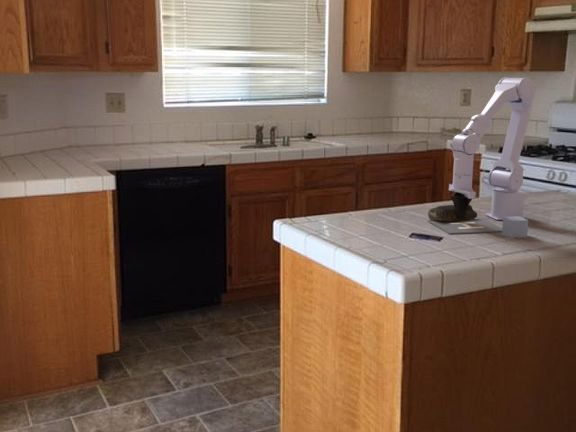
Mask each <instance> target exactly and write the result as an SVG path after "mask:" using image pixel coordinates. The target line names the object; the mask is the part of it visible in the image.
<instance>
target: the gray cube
mask: <svg viewBox="0 0 576 432" xmlns="http://www.w3.org/2000/svg"><path fill="white" fill-rule="evenodd" d="M501 228H502V232H501V234H502V235H504V236H506V237H507V238H510V239H511V238H512V239H513V238H514V237H517V238H527V237H528V229H529V219H526V218H525V217H524V218H522V217H520V216H516V217H503V220H502V226H501ZM514 239H515V238H514Z"/></svg>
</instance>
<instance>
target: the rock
mask: <svg viewBox="0 0 576 432" xmlns="http://www.w3.org/2000/svg"><path fill="white" fill-rule="evenodd" d="M427 214H428V219H429V220H430V221H432V220H437V221H443V222H447V221H459V220H469V219H477V217H478V212H476V211H475V210H474V209H473V206H472V205H471V204H469V205H468V207H467V210H466V213H465V216H464V218H457V217H456V213H455V207H454V204H446V205H438V206H436V207H432V208H430V209H429V210H428V213H427Z"/></svg>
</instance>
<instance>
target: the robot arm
mask: <svg viewBox="0 0 576 432" xmlns="http://www.w3.org/2000/svg"><path fill="white" fill-rule="evenodd" d="M535 92H536V86H535V83H534V82H533V80H532V79H531V78H530V77H508V76H506V77H502V78H500V80H499V81H498V83H497V84H496V85H495V87H494V93H493V95H492V96H491V98H490V99H489V100H488V102H487V103H486V105H485V107H484V108H483V110H482V111H481V113H479V114H475V115H473V116H472V117H471V118H470V121H469V122H468V123H467V125H466V126H465V127H464V128H463V129H462V130H461V133H458V134H456V135H455V136H454V137H453V138H452V140H451V143H450V149H451V151H452V157H453V170H452V171H453V172H452V183H449V184H448V191H450V192H454V193H451V194H450V198H451V200H452V203H453V205H454V207H455V213H456V217H457V218H464V216H465V213H466V210H467V207H468V205H470V204H471V202H472V200H473V199H476V196H477V195H476V194H477V193H476V192H475V191H474V189H473V187H472V186H473V173H474V172H473V170H474V159H475V158H474V156H475V153H477V152H478V150H479V148H480V143H481V140H482V138H483V136H484V135H485V134H486V133H487V132H488V131H489V129H490V128H491V126H492V125H491V120H492V119H493V118H494V117H495V115H496V114H497V113H498V112H499V111H500V110H501V109H502V108H503V107H504V106H505V104H508V106H509V107H510V108H511V110H512V112H511V115H510V119H509V122H508V128H507V131H506V135H505V140H504V143H503V147H502V151H501V156H500V158H499V159H498V160H497V161H495V162H494V163H493V164H492V168H491V170H490V171H489V173H488V174H487V175H488V177H487V182H488V184H489V185H490V186H491V188H490V189H491V190H492V195H491V197H492V198H491V210H490V213H489V212H488V213H485V215H486V216H487V217H489V218H491V219H494V220H495V221H503V217H516V216H520V217H522V218H524V219H525V216H524V209H525V195H524V192H523V191H522V190H520V189H521V187H522V186H523V184H524V171H525V170H524V169H525V168H524V167H523V166H522V165H521V164H520V162H519V161H520V156H521V152H522V148H523V145H524V140H525V137H526V133H527V128H528V124H529V121H530V117H531V113H532V109H533V108H532V107H533V100H534V96H535Z"/></svg>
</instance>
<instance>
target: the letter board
mask: <svg viewBox="0 0 576 432" xmlns="http://www.w3.org/2000/svg"><path fill="white" fill-rule="evenodd" d="M427 223H429V224H431V225H433V226H435V227H436V228H438V229H439V230H442V231H443V232H445V233H446V234H448V235H462V234H463V235H466V234H468V235H469V234H485V233H502V226H499V225H496V223H495V224H494V223H493V222H490V221H488V220H486V219H484V218H473V219H469V220H459V221H447V222H443V221H437V220H428V221H427Z"/></svg>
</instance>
